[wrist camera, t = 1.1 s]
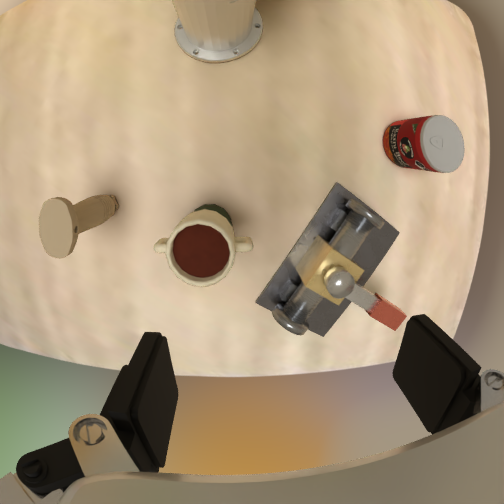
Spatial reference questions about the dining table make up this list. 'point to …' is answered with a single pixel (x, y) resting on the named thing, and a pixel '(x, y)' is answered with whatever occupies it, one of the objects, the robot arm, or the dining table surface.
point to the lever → (362, 297)
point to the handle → (71, 221)
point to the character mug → (203, 246)
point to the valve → (327, 262)
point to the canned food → (425, 144)
